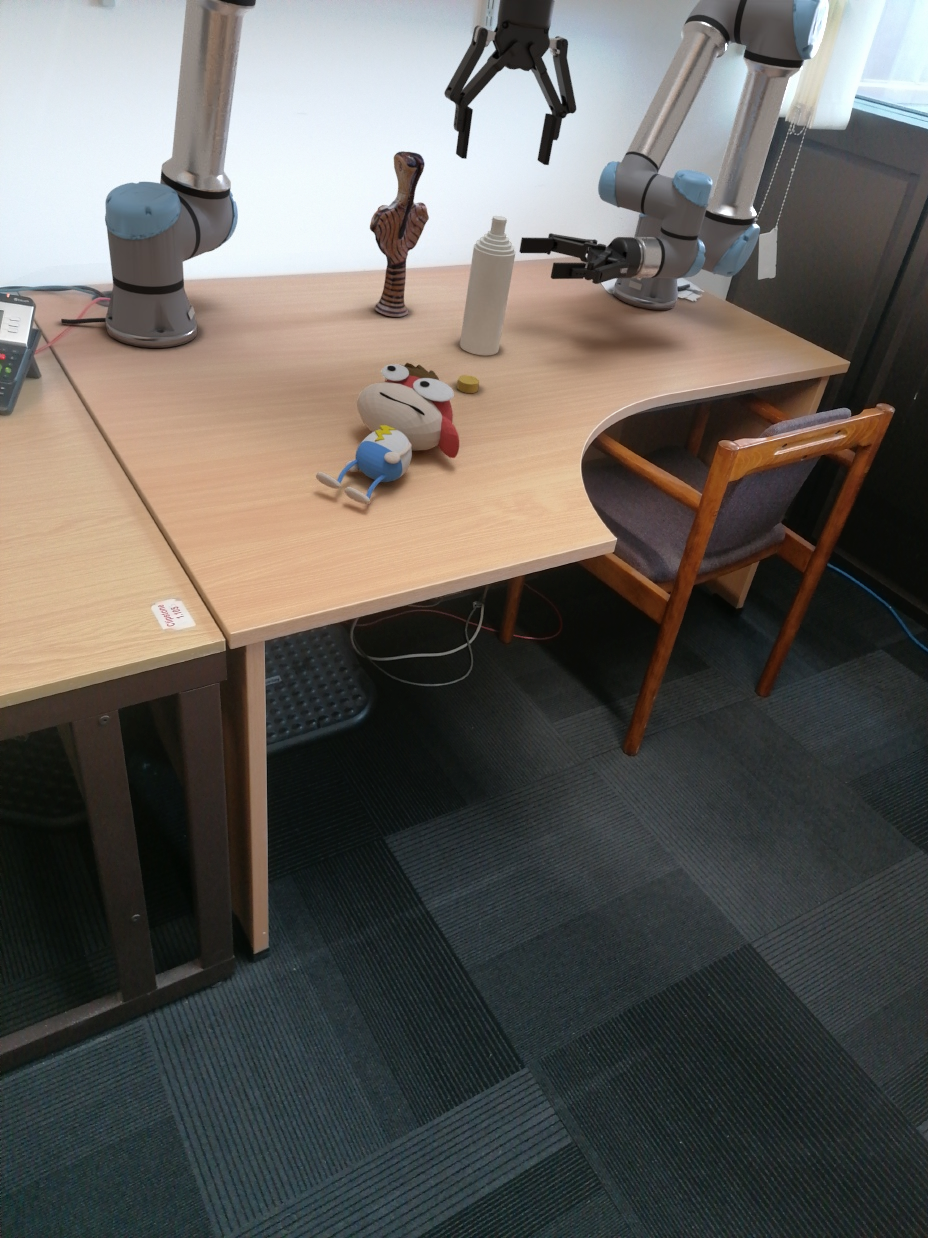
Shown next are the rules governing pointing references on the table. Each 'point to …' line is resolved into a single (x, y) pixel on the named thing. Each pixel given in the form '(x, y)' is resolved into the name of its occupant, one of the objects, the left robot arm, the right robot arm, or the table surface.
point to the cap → (468, 384)
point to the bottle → (488, 291)
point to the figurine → (399, 231)
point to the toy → (399, 425)
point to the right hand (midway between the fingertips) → (536, 257)
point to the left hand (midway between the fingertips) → (502, 159)
